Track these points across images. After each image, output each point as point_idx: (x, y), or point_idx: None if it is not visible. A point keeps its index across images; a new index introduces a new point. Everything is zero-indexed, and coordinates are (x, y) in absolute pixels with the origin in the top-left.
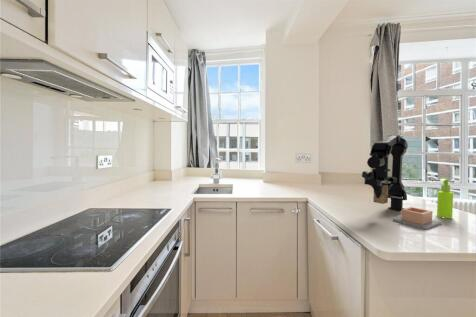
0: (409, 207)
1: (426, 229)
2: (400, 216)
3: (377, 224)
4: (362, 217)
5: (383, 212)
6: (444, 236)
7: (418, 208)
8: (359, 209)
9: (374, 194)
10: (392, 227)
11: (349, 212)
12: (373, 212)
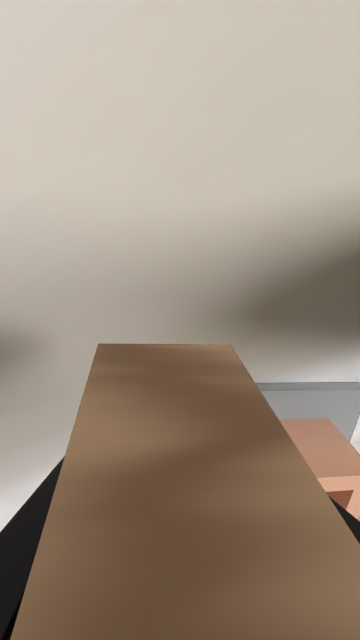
0: (345, 479)
1: None
2: (278, 391)
3: (2, 374)
4: (50, 215)
5: (349, 246)
6: None
7: (357, 513)
8: (299, 18)
9: (72, 446)
10: (43, 442)
11: (80, 2)
12: (289, 191)
